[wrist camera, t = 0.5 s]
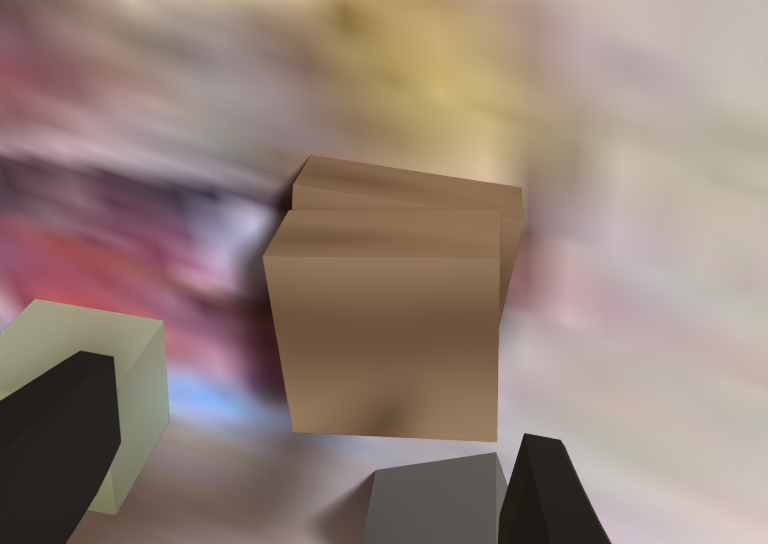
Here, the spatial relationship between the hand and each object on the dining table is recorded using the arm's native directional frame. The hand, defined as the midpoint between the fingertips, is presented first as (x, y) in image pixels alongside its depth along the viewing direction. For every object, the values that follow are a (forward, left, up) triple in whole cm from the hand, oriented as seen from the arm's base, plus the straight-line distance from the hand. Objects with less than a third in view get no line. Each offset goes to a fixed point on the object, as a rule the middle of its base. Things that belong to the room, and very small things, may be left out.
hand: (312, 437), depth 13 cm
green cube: (-8, +9, -10) cm, 16 cm away
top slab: (-2, -1, -8) cm, 8 cm away
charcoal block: (-12, -4, -10) cm, 16 cm away
